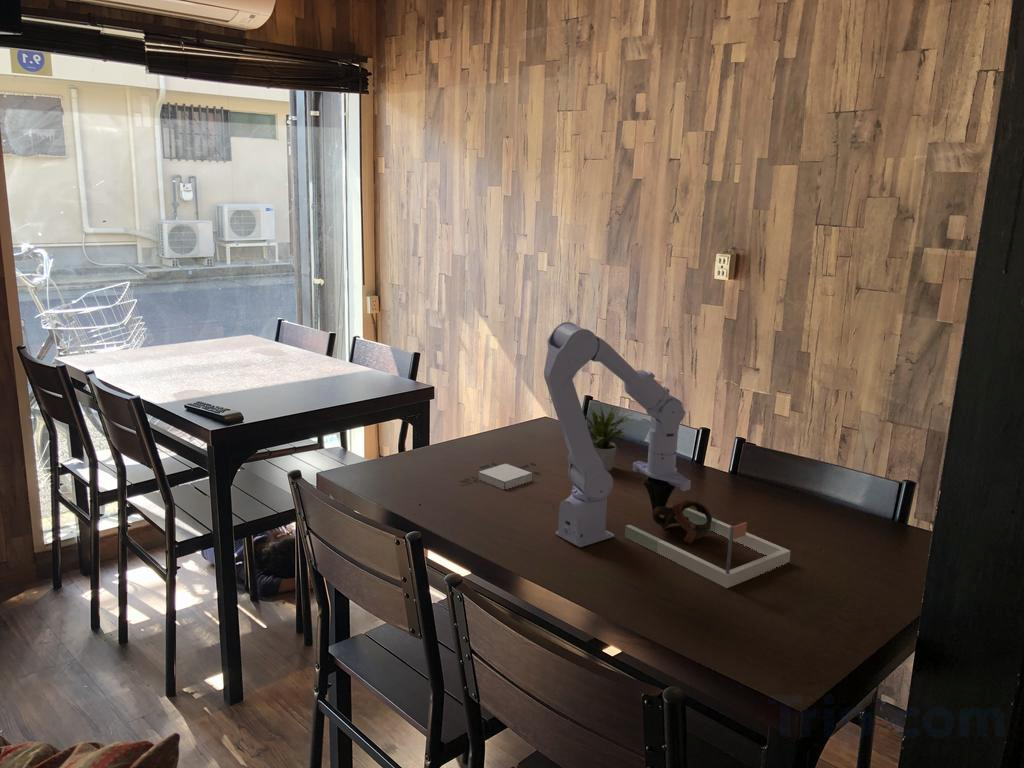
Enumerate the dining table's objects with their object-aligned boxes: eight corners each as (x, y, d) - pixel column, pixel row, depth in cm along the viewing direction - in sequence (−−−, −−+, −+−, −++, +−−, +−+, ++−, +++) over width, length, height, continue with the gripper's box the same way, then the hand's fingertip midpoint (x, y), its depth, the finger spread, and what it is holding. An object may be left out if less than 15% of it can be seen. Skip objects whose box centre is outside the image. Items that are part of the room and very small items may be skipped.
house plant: (629, 482, 196) (632, 417, 192) (572, 476, 199) (575, 413, 195) (632, 463, 210) (636, 403, 206) (579, 458, 212) (582, 399, 209)
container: (487, 497, 186) (487, 486, 185) (455, 484, 193) (455, 473, 193) (547, 477, 199) (547, 467, 199) (515, 465, 207) (515, 456, 207)
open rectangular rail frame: (726, 588, 144) (732, 528, 141) (624, 537, 165) (628, 484, 162) (789, 562, 155) (795, 506, 152) (686, 517, 175) (690, 467, 172)
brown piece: (696, 525, 173) (713, 500, 167) (701, 560, 165) (718, 536, 160) (644, 511, 171) (659, 486, 166) (646, 546, 164) (661, 521, 159)
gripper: (702, 457, 162) (697, 519, 166) (650, 438, 174) (646, 497, 177) (678, 463, 158) (674, 527, 161) (627, 444, 170) (623, 504, 173)
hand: (658, 512), depth 169 cm, fingers closed
